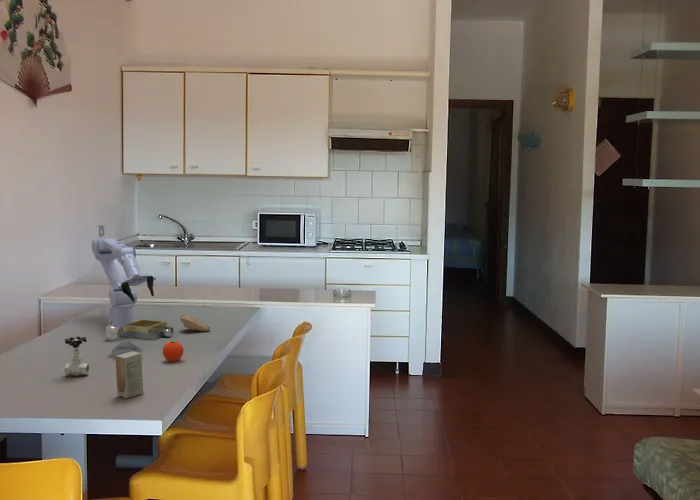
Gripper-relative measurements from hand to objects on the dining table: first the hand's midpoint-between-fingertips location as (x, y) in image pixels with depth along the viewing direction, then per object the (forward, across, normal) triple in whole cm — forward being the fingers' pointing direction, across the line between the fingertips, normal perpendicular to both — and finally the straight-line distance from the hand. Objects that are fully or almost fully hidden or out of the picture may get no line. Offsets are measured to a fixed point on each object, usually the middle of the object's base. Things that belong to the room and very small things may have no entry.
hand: (143, 297), depth 265 cm
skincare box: (+58, -21, -37) cm, 72 cm away
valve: (+37, -32, -20) cm, 53 cm away
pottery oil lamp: (+13, +17, +15) cm, 26 cm away
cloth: (+22, -14, -1) cm, 26 cm away
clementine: (+39, -1, -14) cm, 41 cm away
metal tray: (+8, -1, +14) cm, 17 cm away
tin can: (+8, -14, +11) cm, 20 cm away
